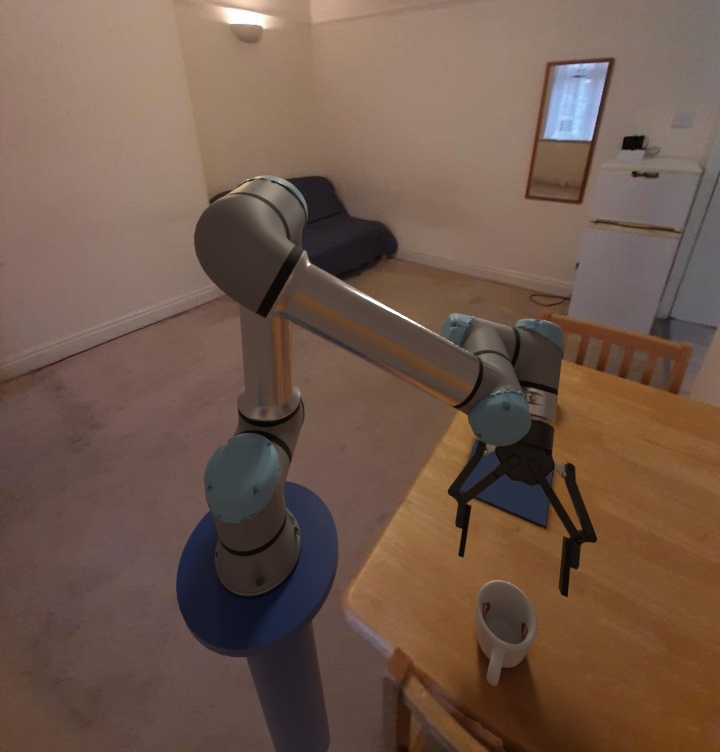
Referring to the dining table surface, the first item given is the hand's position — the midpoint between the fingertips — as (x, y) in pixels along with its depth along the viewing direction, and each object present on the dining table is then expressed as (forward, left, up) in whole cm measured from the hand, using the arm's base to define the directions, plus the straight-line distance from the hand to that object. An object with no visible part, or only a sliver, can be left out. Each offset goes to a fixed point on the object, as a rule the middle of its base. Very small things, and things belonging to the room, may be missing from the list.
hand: (510, 573), depth 57 cm
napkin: (-4, +24, -10) cm, 26 cm away
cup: (0, -5, -11) cm, 12 cm away
